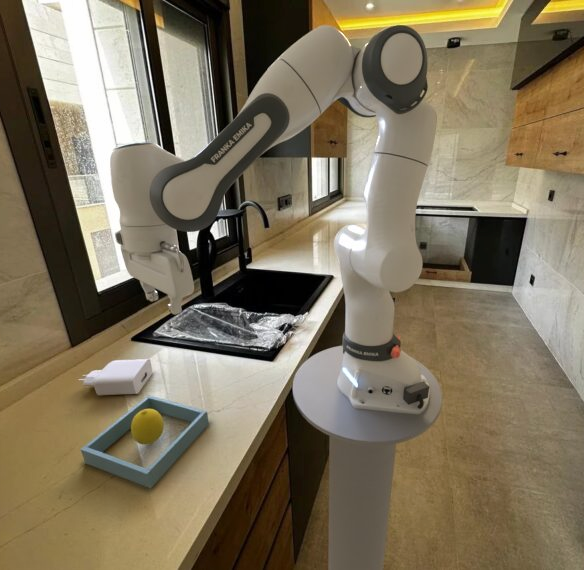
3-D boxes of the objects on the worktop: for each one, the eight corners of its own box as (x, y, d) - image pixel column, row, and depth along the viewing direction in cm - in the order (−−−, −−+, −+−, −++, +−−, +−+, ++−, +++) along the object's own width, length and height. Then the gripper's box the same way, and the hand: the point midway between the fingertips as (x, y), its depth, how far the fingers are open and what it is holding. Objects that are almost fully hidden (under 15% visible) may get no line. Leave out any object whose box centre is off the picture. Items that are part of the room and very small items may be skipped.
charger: (94, 374, 86) (153, 372, 87) (71, 398, 77) (136, 395, 78) (89, 359, 84) (149, 357, 85) (65, 382, 75) (132, 379, 76)
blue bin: (209, 423, 70) (206, 411, 69) (150, 488, 56) (146, 474, 55) (151, 407, 75) (149, 394, 73) (85, 463, 61) (80, 449, 60)
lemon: (154, 428, 69) (147, 397, 66) (172, 437, 67) (165, 406, 64) (129, 447, 64) (120, 415, 61) (148, 458, 62) (139, 425, 59)
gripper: (197, 243, 56) (207, 315, 61) (144, 228, 68) (156, 289, 73) (161, 251, 52) (174, 328, 57) (110, 233, 64) (125, 297, 69)
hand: (163, 306), depth 65 cm, fingers open, 8 cm apart
